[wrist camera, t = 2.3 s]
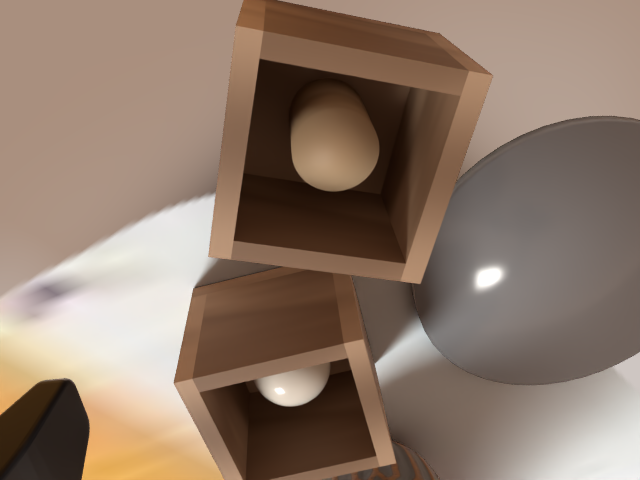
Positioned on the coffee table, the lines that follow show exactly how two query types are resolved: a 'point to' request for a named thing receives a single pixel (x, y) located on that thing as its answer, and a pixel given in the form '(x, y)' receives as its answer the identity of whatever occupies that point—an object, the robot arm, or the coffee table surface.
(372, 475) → the vase
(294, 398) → the ball
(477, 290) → the coaster
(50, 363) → the coffee table surface
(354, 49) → the box
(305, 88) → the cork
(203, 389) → the box
